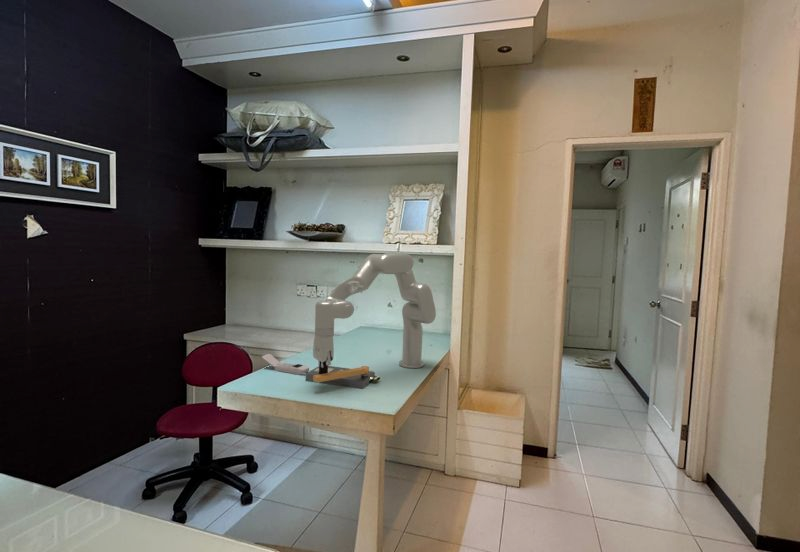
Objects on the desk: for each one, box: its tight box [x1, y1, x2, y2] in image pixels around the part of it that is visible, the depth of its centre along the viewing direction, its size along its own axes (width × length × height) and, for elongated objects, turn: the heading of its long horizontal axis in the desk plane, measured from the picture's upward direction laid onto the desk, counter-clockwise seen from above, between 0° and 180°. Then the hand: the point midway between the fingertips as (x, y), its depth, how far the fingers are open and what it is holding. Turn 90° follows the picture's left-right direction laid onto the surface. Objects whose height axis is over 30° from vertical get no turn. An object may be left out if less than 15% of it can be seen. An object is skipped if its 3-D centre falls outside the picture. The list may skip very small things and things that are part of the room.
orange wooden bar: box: [313, 365, 370, 383], centre depth 164 cm, size 4×25×2 cm, turn 128°
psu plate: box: [305, 365, 376, 390], centre depth 174 cm, size 14×26×4 cm, turn 74°
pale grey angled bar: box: [261, 353, 310, 376], centre depth 183 cm, size 6×6×25 cm
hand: (323, 376), depth 162 cm, fingers closed
